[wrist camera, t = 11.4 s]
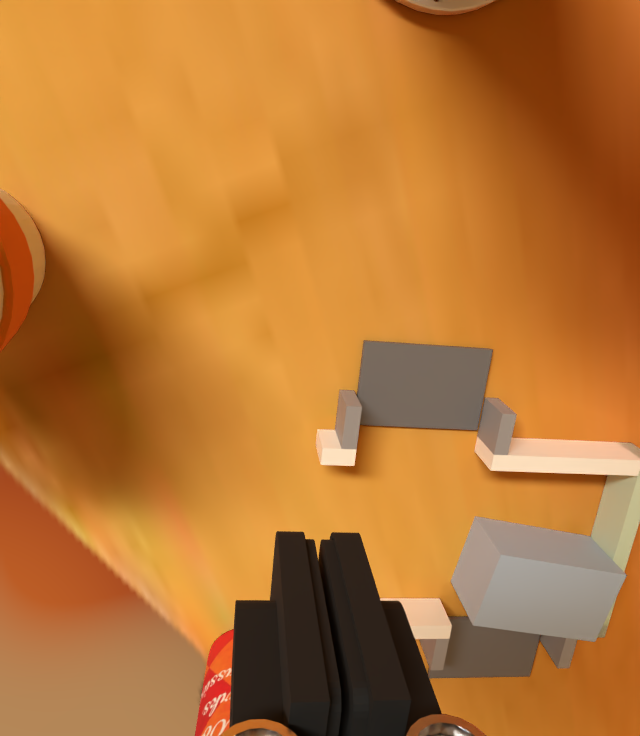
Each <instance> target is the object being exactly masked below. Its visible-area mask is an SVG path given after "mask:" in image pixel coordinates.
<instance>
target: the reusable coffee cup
mask: <svg viewBox="0 0 640 736" xmlns="http://www.w3.org/2000/svg"><path fill="white" fill-rule="evenodd" d="M45 266H46V259H45V250H44V245H43V242H42V239H41V236H40V233H39V231H38V229H37V227H36V225H35V223H34V221H33V220H32V218H31V217H30V215H29V214H28V213H27V212H26V210H25V209H24V208H23V206H22V205H21V204H19V203H18V202H17V201H16V200H15V199H14V198H13V197H12V196H11V195H10V194H8V193H7V192H5V191H3V190H2V189H0V352H1V351H2V349H3V348H4V347H5V346H6V345H7V344H8V342H9V341H10V340H11V339H12V338H13V336H14V335H15V334H16V333H17V331H18V330H19V328H20V326H21V325H22V323H23V321H24V320H25V318H26V316H27V313H28V310H29V307H30V304H31V303H32V302H33V301H34V299H35V297H36V296H37V294H38V292H39V291H40V289H41V286H42V283H43V279H44V276H45Z"/></svg>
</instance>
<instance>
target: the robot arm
mask: <svg viewBox="0 0 640 736" xmlns="http://www.w3.org/2000/svg"><path fill="white" fill-rule="evenodd" d="M395 1H397V2H399V3H401V4H403V5H405V6H407V7H410V8H412V9H414V10H416V11H420V12H425V13H430V14H435V15H457V14H461V13H465V12H469V11H474V10H478V9H480V8H482V7H484V6H486V5H488V4H490V3H492V2H494V1H496V0H438V1H437V2H435V1H434V0H395ZM220 736H486V735H485V734H484V733H483V732H482V731H480V730H479V729H478V728H477V727H476V726H474V725H473V724H471V723H469V722H467V721H465V720H463V719H461V718H458V717H454V716H450V715H446V714H442V713H441V710H440V708H439V705H438V702H437V699H436V696H435V694H434V691H433V688H432V685H431V683H430V680H429V677H428V674H427V671H426V669H425V666H424V663H423V660H422V657H421V655H420V652H419V649H418V646H417V644H416V641H415V638H414V635H413V632H412V630H411V627H410V624H409V621H408V619H407V616H406V613H405V610H404V608H403V606H402V604H401V603H400V602H399V601H380V597H379V594H378V591H377V588H376V584H375V581H374V578H373V575H372V572H371V568H370V565H369V562H368V559H367V555H366V552H365V549H364V546H363V543H362V539H361V536H360V534H359V533H334V532H332V534H331V536H330V540H321V544H320V552H319V560H318V558H317V552H316V546H315V541H314V540H313V539H305V535H304V532H279V531H277V532H276V538H275V549H274V561H273V573H272V584H271V596H270V601H264V600H236V605H235V619H234V635H233V652H232V673H231V698H230V725H229V729H227V730H226V731H224V732H223V733H222V734H221V735H220Z"/></svg>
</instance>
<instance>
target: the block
mask: <svg viewBox="0 0 640 736" xmlns="http://www.w3.org/2000/svg"><path fill="white" fill-rule="evenodd" d="M626 576H627V575H626V574H625V573H624V572H623V571H622V569H621V568H620V567H619V566H618V565H617V564H616V563H615V562H614V561H613V560H612V559H611V558H610V557H609V556H608V555H607V554H606V553H605V552H604V551H603V550H602V549H601V548H600V547H599V545H598V544H597V543H596V542H595V541H594V540H593V539H592V538H591V537H590V536H586V535H580V534H574V533H568V532H563V531H557V530H551V529H545V528H540V527H534V526H528V525H522V524H517V523H511V522H505V521H499V520H494V519H488V518H482V517H476V516H475V518H474V521H473V524H472V526H471V529H470V532H469V534H468V537H467V540H466V542H465V545H464V547H463V550H462V553H461V555H460V558H459V561H458V563H457V566H456V569H455V571H454V574H453V576H452V579H451V583H452V585H453V587H454V589H455V591H456V593H457V595H458V597H459V599H460V601H461V603H462V605H463V607H464V609H465V611H466V613H467V615H468V617H469V619H470V621H471V623H472V625H474V626H481V627H488V628H496V629H503V630H511V631H518V632H525V633H533V634H540V635H547V636H555V637H562V638H569V639H577V640H584V641H592V642H595V641H596V639H597V637H598V635H599V633H600V631H601V628H602V626H603V624H604V622H605V620H606V618H607V616H608V614H609V612H610V610H611V607H612V605H613V603H614V601H615V599H616V597H617V595H618V593H619V591H620V589H621V586H622V584H623V582H624V580H625V578H626Z"/></svg>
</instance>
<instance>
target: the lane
mask: <svg viewBox="0 0 640 736" xmlns="http://www.w3.org/2000/svg"><path fill="white" fill-rule="evenodd" d="M492 352H493V350H492V349H486V348H471V347H456V346H440V345H425V344H410V343H395V342H380V341H365V340H364V343H363V351H362V359H361V367H360V375H359V383H358V391H357V396H356V394H355V392H354V391H351V390H340V391H339V400H338V409H337V417H336V426H335V430H323V429H317V438H316V448H317V452H318V456H319V460H320V464H321V465H340V466H354V465H355V457H356V450H357V442H358V434H359V426H360V425H373V426H396V427H418V428H440V429H462V430H477V428H478V423H479V418H480V413H481V408H482V403H483V398H484V393H485V387H486V382H487V377H488V372H489V367H490V362H491V357H492ZM516 415H517V414H515V413H514V412H513V411H512V410H511V409H510V408H509V407H508V406H506V405H505V404H504V403H503V402H502V401H501V400H500V399H498V398H485V400H484V405H483V410H482V415H481V420H480V425H479V431H478V436H477V441H476V446H475V452H476V454H477V455H478V456H479V457H480V458H481V460H482V461H483V462H484V463H485V464H486V466H487V467H488V468H489V469H490V471H514V472H542V473H571V474H600V475H608V476H607V479H606V483H605V487H604V490H603V494H602V498H601V501H600V505H599V508H598V512H597V516H596V519H595V523H594V526H593V530H592V534H591V538H592V539H593V540H594V541H595V542H596V543H597V544H598V545H599V547H600V548H601V549H602V550H603V551H604V552H605V553H606V554H607V555H608V556H609V557H610V558H611V559H612V560H613V561H614V562H615V563H616V564H617V565H618V566H619V567H620V568H621V569H622V571H623V572H624V571H625V568H626V565H627V561H628V558H629V555H630V552H631V548H632V545H633V542H634V538H635V535H636V532H637V528H638V525H639V522H640V448H638V447H637V446H635V445H634V444H632V443H623V442H600V441H577V440H554V439H531V438H512V434H513V429H514V425H515V420H516ZM616 598H617V597H616ZM380 601H399V602H400V603H401V604H402V606H403V608H404V610H405V613H406V616H407V619H408V621H409V624H410V627H411V630H412V632H413V635H414V638H415V639H420V643H421V646H422V649H423V651H424V654H425V657H426V659H427V662H428V665H429V671H428V677H429V678H470V677H525V676H530V673H531V669H532V666H533V662H534V658H535V654H536V650H537V647H538V643H539V639H540V641H541V643H542V644H543V646H544V648H545V649H546V651H547V652H548V654H549V655H550V657H551V659H552V660H553V662H554V663H555V665H556V667H557V668H569V667H570V664H571V660H572V657H573V653H574V650H575V646H576V643H577V639H569V638H562V637H555V636H547V635H541V637H540V634H533V633H525V632H518V631H511V630H503V629H496V628H488V627H481V626H474V625H472V623H471V621H470V619H469V617H448V616H447V614H446V611H445V609H444V607H443V605H442V603H441V600H440V598H380ZM615 601H616V599H615ZM615 601H614V603H613V605H612V607H611V610H610V612H609V614H608V616H607V618H606V620H605V622H604V624H603V626H602V628H601V631H600V633H599V635H598V637H597V638H599V637H605V634H606V631H607V627H608V624H609V621H610V618H611V614H612V611H613V608H614V604H615Z"/></svg>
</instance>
